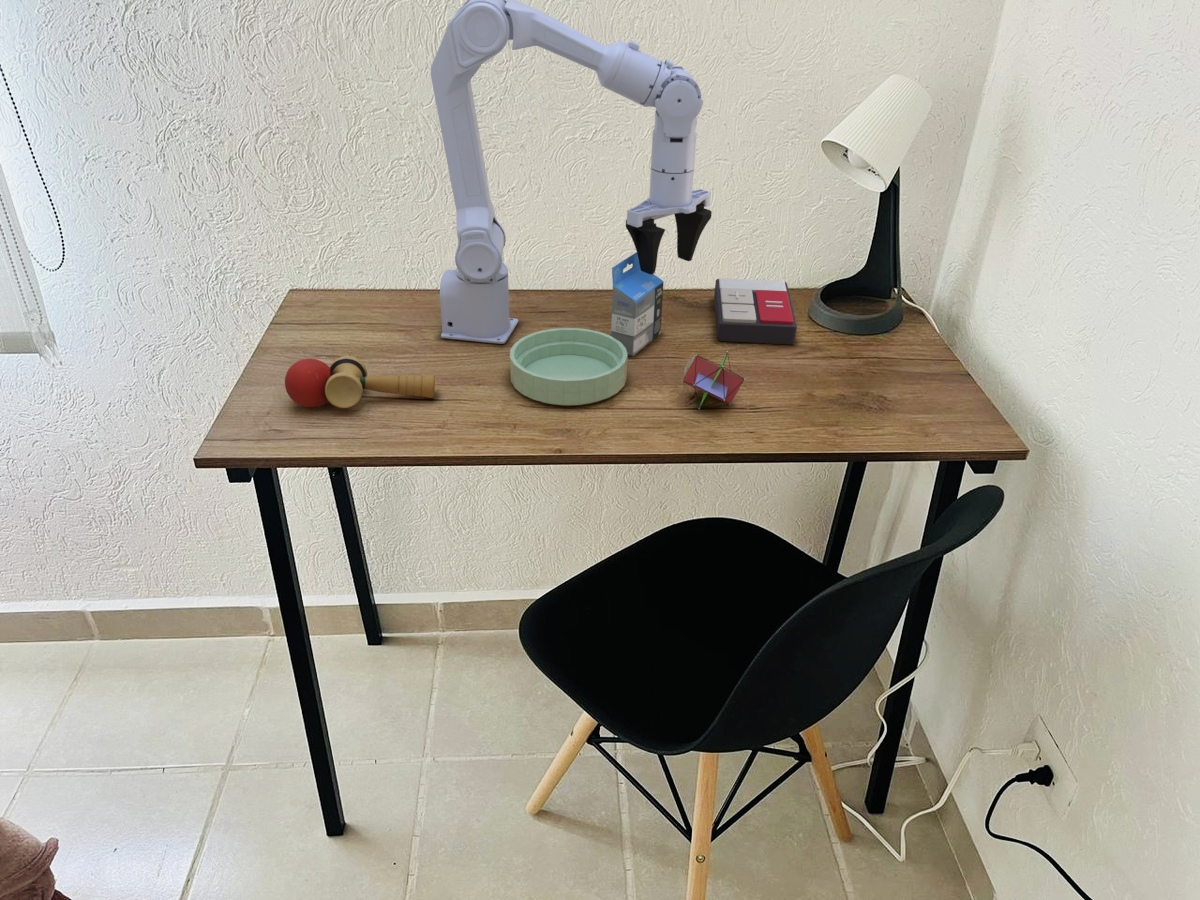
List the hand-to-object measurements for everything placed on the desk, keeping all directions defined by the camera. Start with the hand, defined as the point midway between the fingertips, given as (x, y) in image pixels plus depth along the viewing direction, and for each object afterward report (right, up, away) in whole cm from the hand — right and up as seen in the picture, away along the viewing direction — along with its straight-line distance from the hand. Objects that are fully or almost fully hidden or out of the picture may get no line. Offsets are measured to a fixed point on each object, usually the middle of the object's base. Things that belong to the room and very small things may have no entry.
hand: (666, 265), depth 128 cm
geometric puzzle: (+5, -20, -12) cm, 24 cm away
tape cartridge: (-4, -11, +2) cm, 12 cm away
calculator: (+14, -7, +9) cm, 18 cm away
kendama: (-39, -20, -13) cm, 46 cm away
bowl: (-13, -17, -8) cm, 23 cm away
